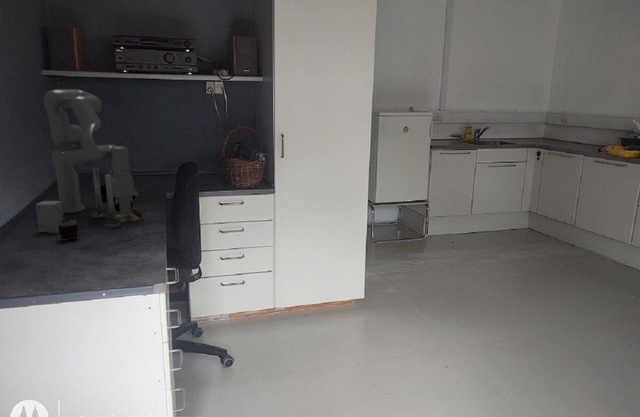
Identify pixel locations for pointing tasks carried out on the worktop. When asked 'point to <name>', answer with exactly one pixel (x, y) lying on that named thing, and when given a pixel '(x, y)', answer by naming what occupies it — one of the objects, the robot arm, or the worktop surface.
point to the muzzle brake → (103, 190)
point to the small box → (49, 216)
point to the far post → (98, 197)
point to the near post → (110, 204)
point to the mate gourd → (67, 227)
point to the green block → (124, 206)
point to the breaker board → (130, 216)
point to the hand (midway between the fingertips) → (124, 209)
